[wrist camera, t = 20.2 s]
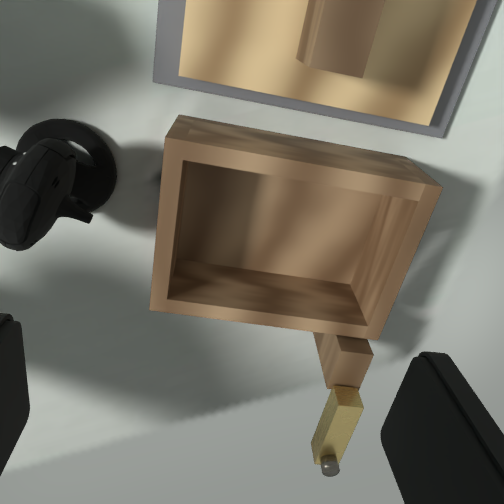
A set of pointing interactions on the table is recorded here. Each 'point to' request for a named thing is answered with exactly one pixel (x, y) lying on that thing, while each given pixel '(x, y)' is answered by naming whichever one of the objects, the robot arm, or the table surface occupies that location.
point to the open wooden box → (287, 235)
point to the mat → (168, 71)
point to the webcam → (51, 181)
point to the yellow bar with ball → (336, 428)
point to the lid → (329, 50)
